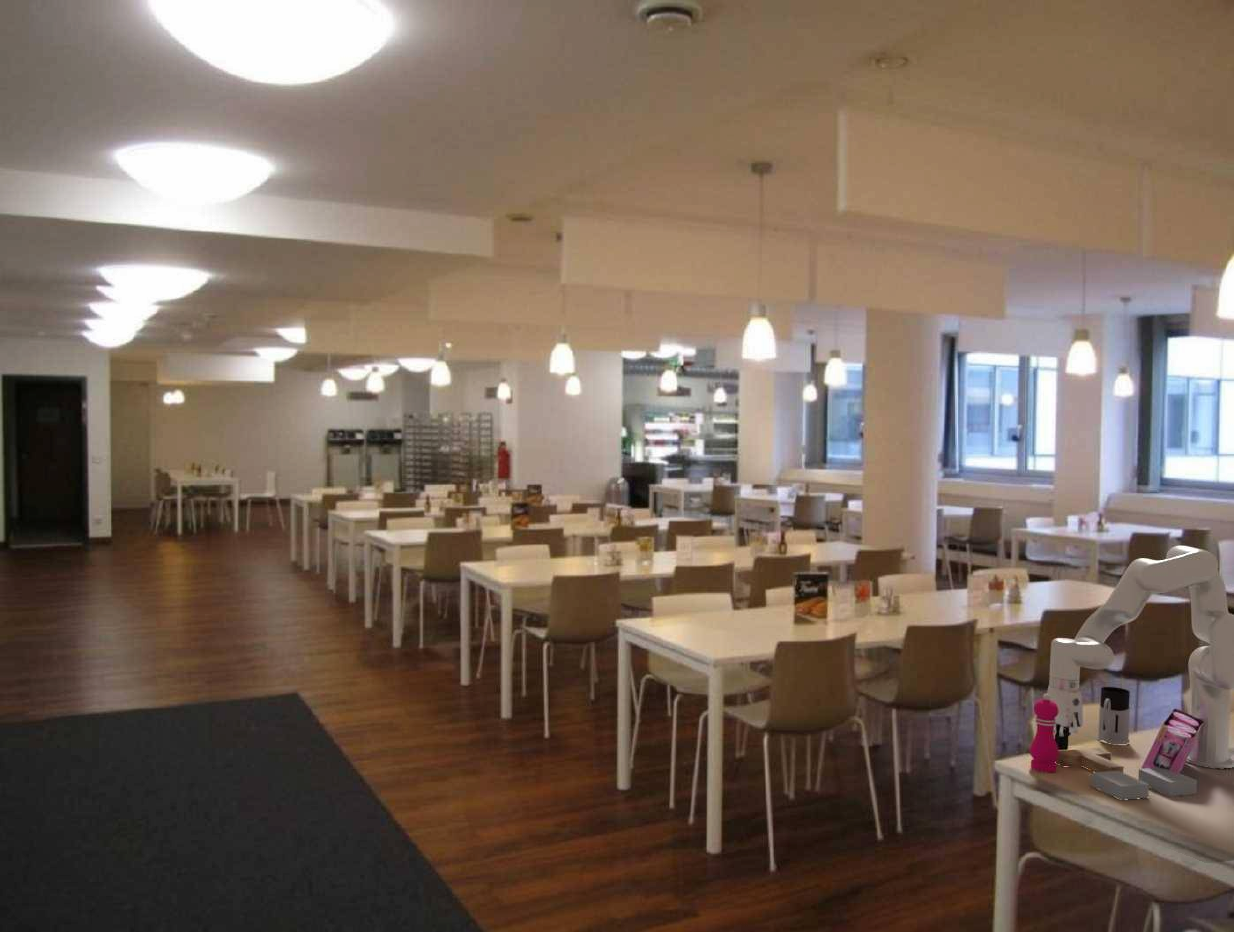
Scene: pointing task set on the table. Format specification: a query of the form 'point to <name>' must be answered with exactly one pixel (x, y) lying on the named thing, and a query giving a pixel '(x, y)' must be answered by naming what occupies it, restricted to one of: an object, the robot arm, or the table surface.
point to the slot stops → (1143, 783)
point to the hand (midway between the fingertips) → (1061, 749)
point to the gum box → (1174, 741)
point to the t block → (1089, 759)
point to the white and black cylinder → (1114, 715)
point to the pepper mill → (1044, 736)
